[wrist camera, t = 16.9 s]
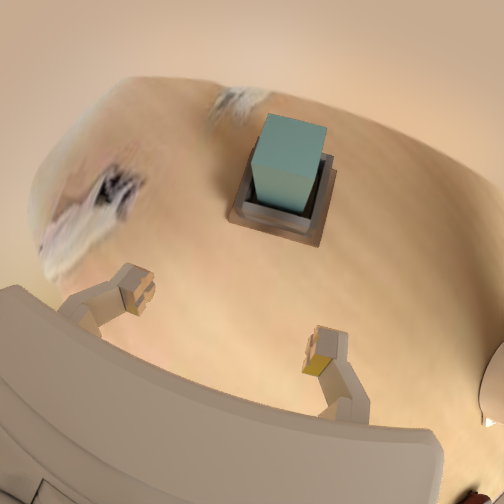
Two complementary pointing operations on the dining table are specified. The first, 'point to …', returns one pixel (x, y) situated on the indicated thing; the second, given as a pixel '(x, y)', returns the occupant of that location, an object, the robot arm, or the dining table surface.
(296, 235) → the box
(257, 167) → the teal block
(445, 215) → the dining table surface
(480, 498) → the mate gourd
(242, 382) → the dining table surface
